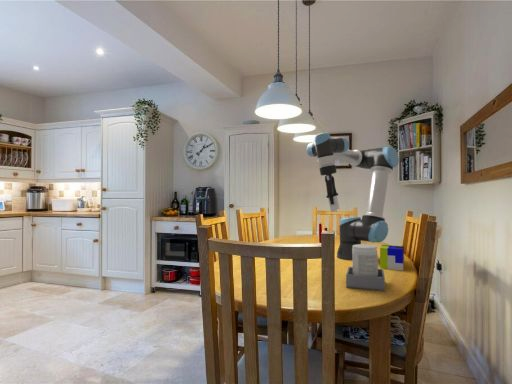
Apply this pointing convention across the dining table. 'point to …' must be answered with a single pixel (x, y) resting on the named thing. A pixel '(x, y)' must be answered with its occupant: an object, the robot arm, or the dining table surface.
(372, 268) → the supplement tub
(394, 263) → the puzzle toy
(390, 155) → the robot arm
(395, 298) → the dining table surface
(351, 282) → the crate
